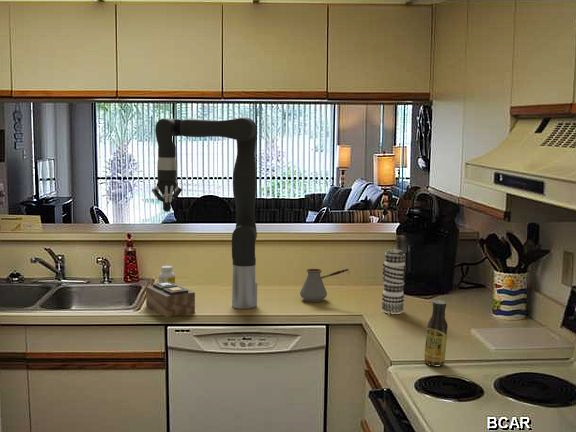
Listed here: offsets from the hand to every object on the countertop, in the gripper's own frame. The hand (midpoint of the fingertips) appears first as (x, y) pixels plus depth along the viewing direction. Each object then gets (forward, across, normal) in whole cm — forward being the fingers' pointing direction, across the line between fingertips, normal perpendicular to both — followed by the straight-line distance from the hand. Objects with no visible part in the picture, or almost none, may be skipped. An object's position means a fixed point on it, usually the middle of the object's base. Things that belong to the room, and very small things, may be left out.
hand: (166, 211), depth 270 cm
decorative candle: (+37, +68, -62) cm, 99 cm away
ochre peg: (+36, -5, -18) cm, 40 cm away
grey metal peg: (+36, -5, -8) cm, 37 cm away
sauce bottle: (+37, +36, -112) cm, 123 cm away
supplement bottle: (+37, +3, +6) cm, 38 cm away
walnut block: (+37, -5, -13) cm, 40 cm away
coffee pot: (+37, +55, -35) cm, 75 cm away
